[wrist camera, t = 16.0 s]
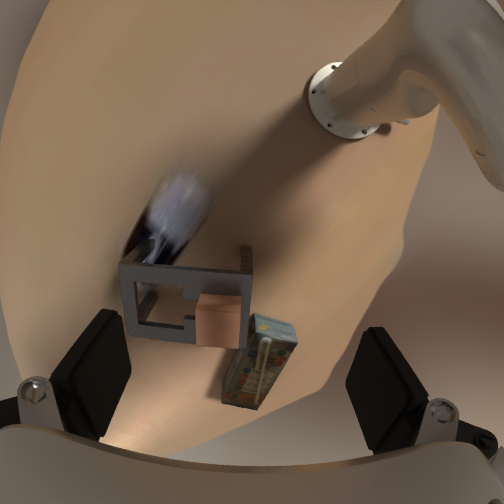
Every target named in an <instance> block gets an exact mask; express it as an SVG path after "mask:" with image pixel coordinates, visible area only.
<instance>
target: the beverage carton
mask: <svg viewBox="0 0 504 504" xmlns="http://www.w3.org/2000/svg"><path fill="white" fill-rule="evenodd" d="M297 343H298V341H297V338H296V334H295V330H294V328H293V326H292V324H291V323H287V322H283V321H279V320H276V319H272V318H269V317H266V316H262V315H259V314H255V313H254V314H253V317H252V319H251V321H250V324H249V326H248V334H247V344H246V348H238V350H237V352H236V354H235V356H234V358H233V360H232V362H231V364H230V367H229V369H228V371H227V373H226V376H225V378H224V380H223V382H222V401H221V402H222V403H223V404H228V405H233V406H237V407H241V408H248V409H252V410H258V408H259V406H260V405H261V404H262V402H263V400H264V399H265V397H266V396H267V394H268V393H269V391H270V389H271V388H272V386H273V384H274V383H275V381H276V379H277V378H278V376H279V374H280V373H281V371H282V369H283V368H284V366H285V364H286V362H287V361H288V359H289V357H290V355H291V353H292V352H293V351H294V348H295V347H296V346H297Z"/></svg>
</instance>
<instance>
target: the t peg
mask: <svg viewBox="0 0 504 504" xmlns="http://www.w3.org/2000/svg"><path fill="white" fill-rule="evenodd" d="M195 314H196V345H197V346H208V347H220V348H234V349H238V346H239V332H240V318H241V296H226V295H212V294H200V297H199V300H198V304H197V307H196V310H195Z"/></svg>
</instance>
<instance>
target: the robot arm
mask: <svg viewBox="0 0 504 504" xmlns="http://www.w3.org/2000/svg"><path fill="white" fill-rule="evenodd" d="M497 2H498V4H499V5H500V7H501V8H502V10H503V11H504V0H497ZM332 68H333V69H334V70H333V69H332ZM312 91H313V92H314V93H315V94H313V93H312ZM308 102H309V106H310V109H311V111H312V113H313V115H314V117H315V118H316V120H317V121H318V123H319V124H320V125H321V126H322V127H323V128H325V129H326V130H327V131H329V132H330V133H332V134H334V135H336V136H338V137H342V138H346V139H359V138H363V137H366V136H369V135H371V134H372V133H373V132H375V131H376V130H377V129H378V128H379V127H380V125H381V124H383V123H389V122H394V121H396V122H397V123H401V124H404V125H407V124H408V123H409V120H410V119H412V118H418V117H422V116H424V115H426V114H428V113H430V112H431V111H432V110H433V109H434V108H435V107H436V106H437V105H438V104H439V103H440V105H441V106H442V107H443V109H444V110H445V112H446V113H447V115H448V116H449V117H450V118H451V120H452V121H453V123H454V124H455V126H456V128H457V129H458V131H459V132H460V134H461V136H462V137H463V139H464V141H465V143H466V144H467V146H468V148H469V150H470V152H471V153H472V155H473V157H474V159H475V160H476V162H477V164H478V166H479V168H480V170H481V171H482V173H483V175H484V176H485V178H486V179H487V180H488V181H489V183H490V184H491V185H492V186H494V187H495V188H496V189H498V190H500V191H502V192H504V20H503V19H502V17H501V16H500V15H499V14H498V12H497V11H496V10H495V9H494V8H493V7H492V6H491V5H490V4H489V3H488V1H487V0H401V1H400V3H399V4H398V6H397V7H396V9H395V10H394V12H393V13H392V15H391V16H390V18H389V19H388V20H387V22H386V23H385V24H384V25H383V26H382V27H381V28H380V29H379V30H378V31H377V32H376V33H375V34H374V35H373V36H372V37H371V38H370V39H369V40H367V41H366V42H365V43H364V44H363V45H362V46H360V47H359V48H358V49H357V50H356V51H355V52H353V53H352V54H351V55H350V56H349V57H348V58H347V59H346V60H344V61H343V62H334V63H330V64H328V65H325V66H323V67H322V68H321V69H319V70H318V71H317V72H316V73H315V75H314V76H313V78H312V79H311V81H310V84H309V87H308ZM328 124H330V127H328ZM362 131H363V134H362ZM130 375H131V363H130V358H129V354H128V349H127V344H126V339H125V334H124V328H123V322H122V317H121V315H118V313H117V311H115V310H109V309H101V310H100V312H99V313H98V314H97V315H96V316H95V318H94V319H93V320H92V321H91V323H90V324H89V325H88V326H87V328H86V329H85V330H84V332H83V333H82V334H81V335H80V337H79V338H78V339H77V341H76V342H75V343H74V344H73V346H72V347H71V348H70V350H69V351H68V352H67V354H66V355H65V356H64V358H63V359H62V360H61V362H60V363H59V365H58V366H57V367H56V369H55V370H54V372H53V373H52V374H51V377H50V379H49V380H47V379H46V378H44V377H39V376H35V377H30V378H27V379H26V380H24V381H23V382H22V383H21V384H20V385H19V388H18V390H17V396H16V397H13V398H9V399H5V400H2V401H0V504H504V448H503V447H502V446H501V447H500V448H498V442H497V439H496V437H495V435H494V434H492V433H491V432H490V431H488V430H485V429H482V428H480V427H476V426H474V425H471V424H469V423H466V422H464V421H461V420H459V412H458V409H457V408H456V406H455V405H454V404H453V403H452V402H450V401H448V400H446V399H443V398H435V399H433V400H431V401H430V402H429V400H428V398H427V397H428V396H429V395H428V393H427V391H426V390H425V388H424V387H423V385H422V383H421V382H420V380H419V379H418V377H417V376H416V374H415V373H414V371H413V370H412V368H411V367H410V365H409V364H408V362H407V361H406V360H405V358H404V356H403V355H402V353H401V352H400V350H399V349H398V347H397V346H396V344H395V343H394V342H393V340H392V339H391V337H390V336H389V334H388V333H387V332H386V330H385V329H384V328H383V327H369V328H368V329H367V331H364V332H363V335H362V338H361V341H360V344H359V346H358V349H357V352H356V355H355V358H354V360H353V363H352V366H351V368H350V371H349V373H348V376H347V378H346V389H347V392H348V394H349V397H350V400H351V402H352V405H353V408H354V410H355V413H356V416H357V418H358V421H359V424H360V427H361V429H362V432H363V435H364V438H365V441H366V443H367V446H368V449H369V450H372V451H373V454H374V455H372V456H366V457H361V458H355V459H349V460H343V461H336V462H327V463H318V464H308V465H293V466H231V465H217V464H206V463H197V462H188V461H181V460H174V459H168V458H163V457H157V456H152V455H147V454H143V453H138V452H134V451H130V450H126V449H122V448H118V447H114V446H110V445H107V444H103V443H100V442H98V441H99V439H100V437H104V436H105V434H106V431H107V429H108V426H109V424H110V421H111V419H112V417H113V414H114V412H115V409H116V407H117V405H118V402H119V400H120V398H121V396H122V393H123V391H124V389H125V386H126V384H127V382H128V380H129V377H130Z"/></svg>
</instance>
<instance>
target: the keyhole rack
mask: <svg viewBox="0 0 504 504" xmlns="http://www.w3.org/2000/svg"><path fill="white" fill-rule="evenodd" d="M153 249H154V239H145V240H144V241H142V242H141V243H140V244H139V245H138V246H137V247H136V248H135V249H134V250H132V251H131V252H130V253H129V254H128V255H127V256H126V257H125V258H124V259H123V260H122V261H120V262H119V263H118V269H119V279H120V288H121V295H122V303H123V310H124V316H125V323H126V328H127V334H128V335H131V336H137V337H143V338H150V339H157V340H164V341H172V342H180V343H189V344H196V316H189V315H185V317H184V326H180V325H171V324H163V323H155V322H147V321H146V319H147V317H148V316H149V314H150V312H151V310H152V308H153V307H154V305H155V303H156V301H157V292H148V293H147V295H146V296H145V298H144V299H143V301H142V302H141V304H140V305H139V303H138V294H137V284H136V282H145V283H154V284H164V285H174V286H183V299H187V300H197V301H198V300H199V297H200V294H212V295H226V296H241V318H240V332H239V346H238V348H246V344H247V334H248V323H249V313H250V302H251V292H252V281H253V265H252V247H251V246H242V248H241V265H240V271H234V270H221V269H208V268H195V267H183V266H171V265H160V264H148V263H141V262H142V261H143V260H144V259H145V258H146V257H147V256H148V255H149V254H150V252H151V251H152V250H153Z"/></svg>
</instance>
